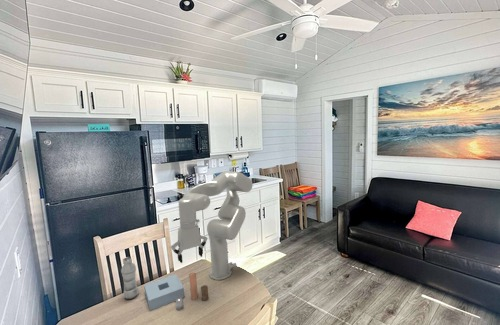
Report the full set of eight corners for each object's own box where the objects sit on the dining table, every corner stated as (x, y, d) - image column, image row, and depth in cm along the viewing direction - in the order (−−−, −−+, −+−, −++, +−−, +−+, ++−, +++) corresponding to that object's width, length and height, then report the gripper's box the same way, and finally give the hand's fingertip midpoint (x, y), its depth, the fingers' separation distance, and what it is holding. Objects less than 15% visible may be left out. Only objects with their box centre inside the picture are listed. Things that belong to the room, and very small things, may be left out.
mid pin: (207, 295, 122) (206, 284, 121) (209, 299, 119) (208, 287, 118) (200, 298, 120) (200, 286, 119) (203, 302, 117) (202, 290, 116)
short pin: (182, 304, 116) (181, 295, 116) (184, 308, 114) (183, 299, 113) (175, 307, 115) (174, 298, 114) (177, 311, 112) (176, 302, 111)
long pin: (196, 294, 123) (194, 271, 121) (198, 297, 120) (197, 275, 119) (190, 296, 121) (188, 274, 120) (192, 300, 119) (190, 277, 117)
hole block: (176, 282, 133) (176, 274, 132) (184, 297, 121) (183, 287, 121) (145, 293, 125) (144, 284, 124) (150, 310, 113) (148, 300, 112)
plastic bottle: (121, 298, 122) (116, 260, 119) (133, 290, 128) (128, 254, 125) (129, 302, 119) (125, 263, 116) (141, 293, 125) (137, 256, 122)
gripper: (203, 217, 123) (205, 250, 125) (167, 225, 114) (170, 260, 116) (208, 222, 117) (210, 256, 119) (171, 231, 108) (174, 267, 110)
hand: (190, 258), depth 118 cm, fingers open, 9 cm apart
